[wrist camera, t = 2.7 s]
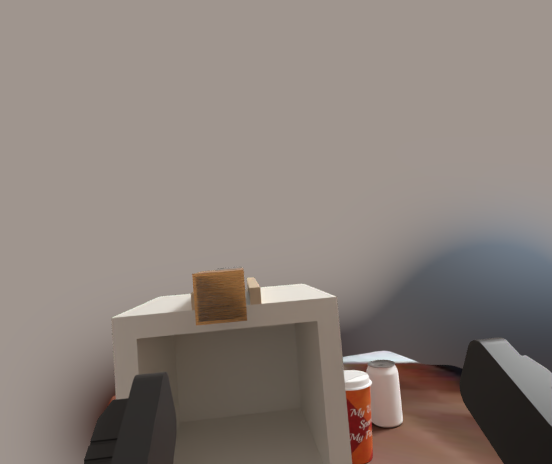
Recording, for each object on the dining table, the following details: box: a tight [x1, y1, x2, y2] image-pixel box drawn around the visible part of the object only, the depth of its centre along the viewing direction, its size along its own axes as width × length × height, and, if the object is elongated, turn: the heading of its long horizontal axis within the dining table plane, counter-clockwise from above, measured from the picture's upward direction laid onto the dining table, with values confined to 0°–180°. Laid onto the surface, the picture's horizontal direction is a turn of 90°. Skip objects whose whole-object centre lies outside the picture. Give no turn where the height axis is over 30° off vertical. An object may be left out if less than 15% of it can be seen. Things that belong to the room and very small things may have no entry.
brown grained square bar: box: [192, 267, 247, 326], centre depth 38 cm, size 3×24×3 cm, turn 5°
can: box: [367, 360, 403, 428], centre depth 83 cm, size 6×6×12 cm
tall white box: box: [112, 277, 352, 464], centre depth 44 cm, size 20×20×34 cm
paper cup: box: [344, 370, 373, 464], centre depth 70 cm, size 8×8×14 cm
